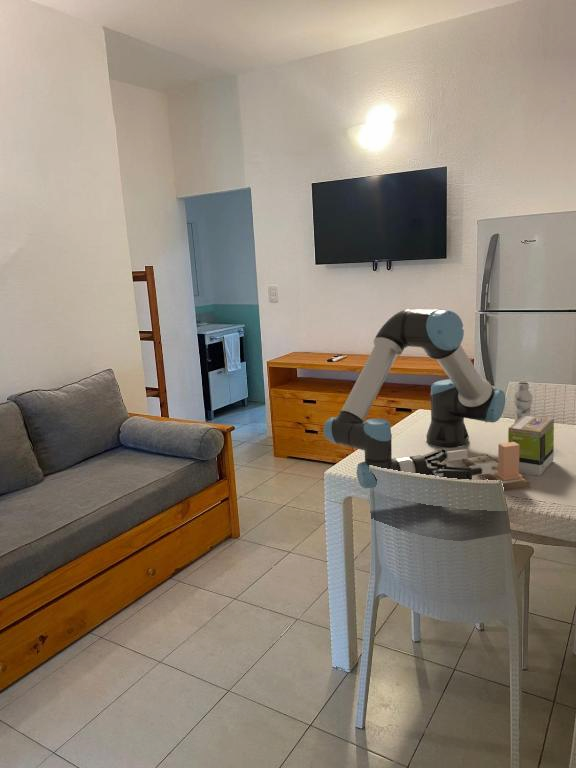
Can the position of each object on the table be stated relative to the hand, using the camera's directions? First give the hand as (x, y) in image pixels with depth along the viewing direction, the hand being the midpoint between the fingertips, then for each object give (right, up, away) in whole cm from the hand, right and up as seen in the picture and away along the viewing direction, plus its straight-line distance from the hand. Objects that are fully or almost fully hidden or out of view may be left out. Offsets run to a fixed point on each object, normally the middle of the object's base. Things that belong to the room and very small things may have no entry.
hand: (478, 460), depth 170 cm
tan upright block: (+10, -5, +3) cm, 11 cm away
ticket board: (+9, -6, +11) cm, 15 cm away
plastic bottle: (+31, +3, +45) cm, 55 cm away
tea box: (+22, -4, +16) cm, 28 cm away
